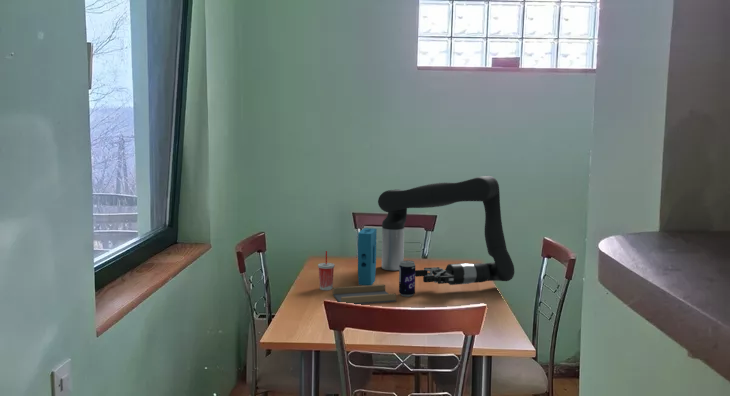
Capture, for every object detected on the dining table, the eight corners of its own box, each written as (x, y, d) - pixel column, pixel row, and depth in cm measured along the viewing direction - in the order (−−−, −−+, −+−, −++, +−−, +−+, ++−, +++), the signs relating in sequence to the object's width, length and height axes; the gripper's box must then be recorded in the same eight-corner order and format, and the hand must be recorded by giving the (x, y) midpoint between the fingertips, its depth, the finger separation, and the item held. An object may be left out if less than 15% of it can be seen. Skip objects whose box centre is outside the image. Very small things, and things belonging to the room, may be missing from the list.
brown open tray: (332, 294, 215) (332, 287, 215) (384, 291, 220) (384, 284, 220) (341, 305, 202) (341, 297, 202) (396, 301, 208) (396, 294, 207)
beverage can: (404, 297, 212) (404, 264, 211) (395, 293, 217) (396, 260, 216) (417, 296, 215) (418, 262, 214) (409, 292, 220) (410, 259, 219)
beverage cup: (327, 285, 228) (327, 248, 226) (337, 288, 223) (338, 251, 222) (314, 288, 223) (314, 250, 222) (325, 291, 219) (325, 253, 218)
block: (370, 286, 227) (370, 233, 224) (357, 286, 228) (357, 233, 225) (376, 279, 238) (376, 228, 236) (363, 278, 239) (364, 228, 237)
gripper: (453, 259, 228) (412, 261, 223) (469, 268, 214) (426, 270, 210) (452, 279, 229) (411, 281, 224) (469, 289, 215) (426, 291, 210)
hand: (419, 276), depth 217 cm, fingers open, 8 cm apart
